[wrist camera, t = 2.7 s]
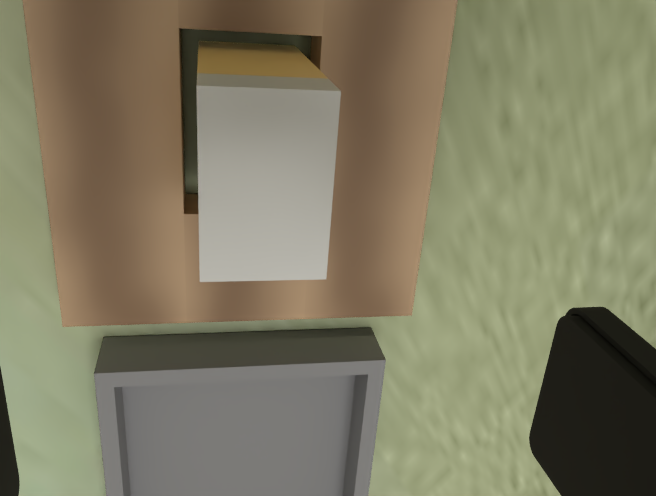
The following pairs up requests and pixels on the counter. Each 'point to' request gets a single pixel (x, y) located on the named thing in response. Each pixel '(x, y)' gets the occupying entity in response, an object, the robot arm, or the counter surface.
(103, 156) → the wooden plate with hole
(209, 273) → the block
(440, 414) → the counter surface
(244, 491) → the parts tray
